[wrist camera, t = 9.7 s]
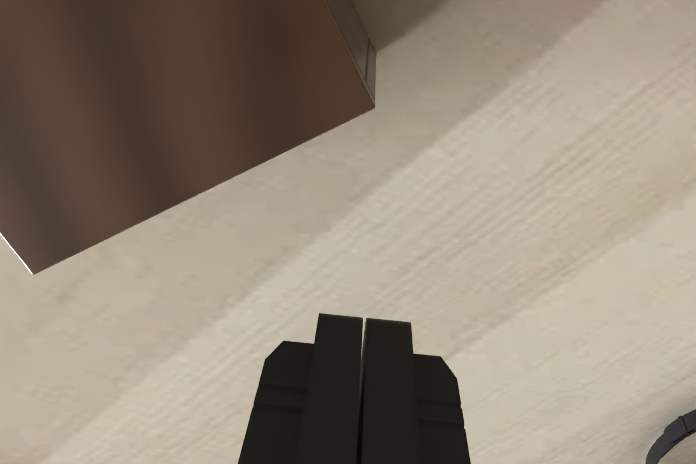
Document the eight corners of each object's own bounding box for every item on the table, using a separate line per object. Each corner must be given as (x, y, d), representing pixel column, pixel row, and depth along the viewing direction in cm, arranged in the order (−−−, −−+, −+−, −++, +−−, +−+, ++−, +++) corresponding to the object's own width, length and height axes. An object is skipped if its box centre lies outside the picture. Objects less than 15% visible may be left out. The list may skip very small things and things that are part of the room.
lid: (40, 267, 25) (32, 275, 25) (-186, -19, 21) (-203, -17, 20) (376, 102, 22) (376, 108, 22) (193, -270, 18) (186, -277, 17)
